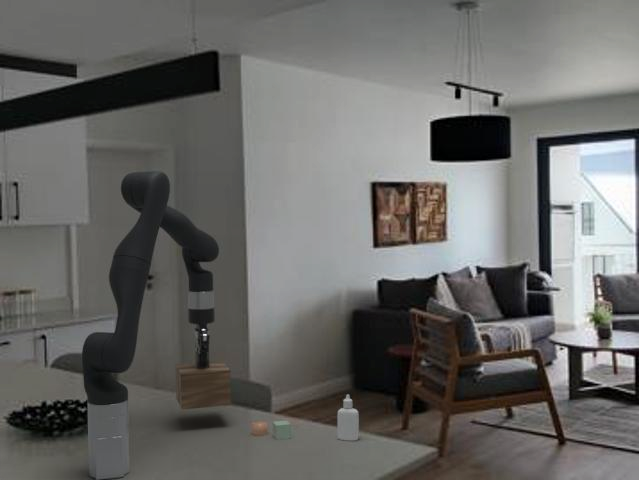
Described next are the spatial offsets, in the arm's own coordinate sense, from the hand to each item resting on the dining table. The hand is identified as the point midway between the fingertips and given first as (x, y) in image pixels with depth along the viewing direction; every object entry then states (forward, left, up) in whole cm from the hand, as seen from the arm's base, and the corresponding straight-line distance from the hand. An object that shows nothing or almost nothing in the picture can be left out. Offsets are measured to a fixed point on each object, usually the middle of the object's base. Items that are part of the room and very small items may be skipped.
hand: (202, 365), depth 213 cm
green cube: (-20, -18, -17) cm, 33 cm away
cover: (0, 0, -11) cm, 11 cm away
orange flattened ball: (-15, -13, -17) cm, 27 cm away
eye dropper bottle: (-28, -35, -17) cm, 48 cm away
